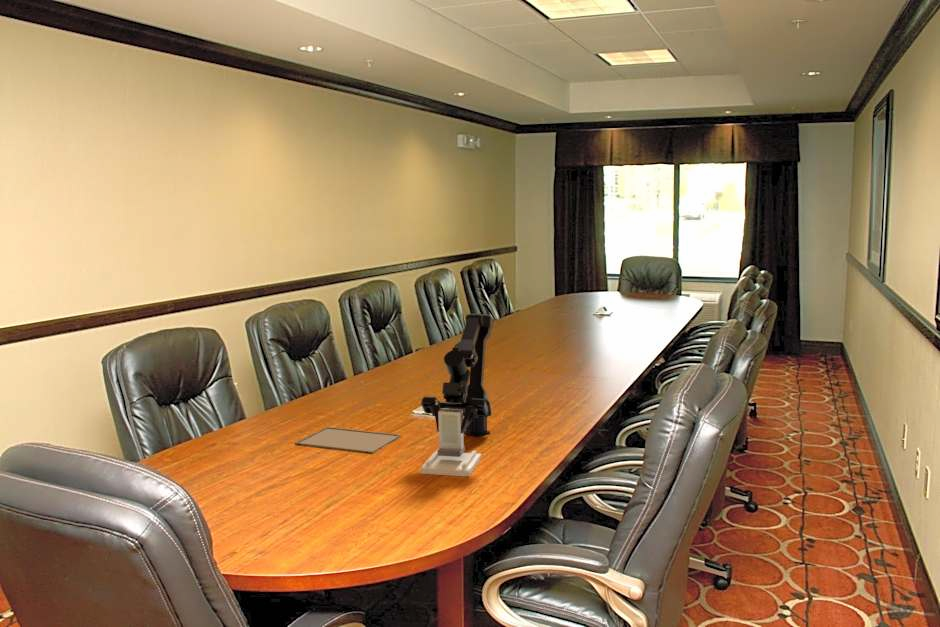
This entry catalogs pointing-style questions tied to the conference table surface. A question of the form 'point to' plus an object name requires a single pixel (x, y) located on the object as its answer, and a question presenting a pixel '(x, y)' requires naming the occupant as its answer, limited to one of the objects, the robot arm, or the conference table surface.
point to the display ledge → (451, 464)
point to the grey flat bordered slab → (349, 439)
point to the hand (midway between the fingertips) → (449, 432)
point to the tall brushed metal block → (450, 432)
